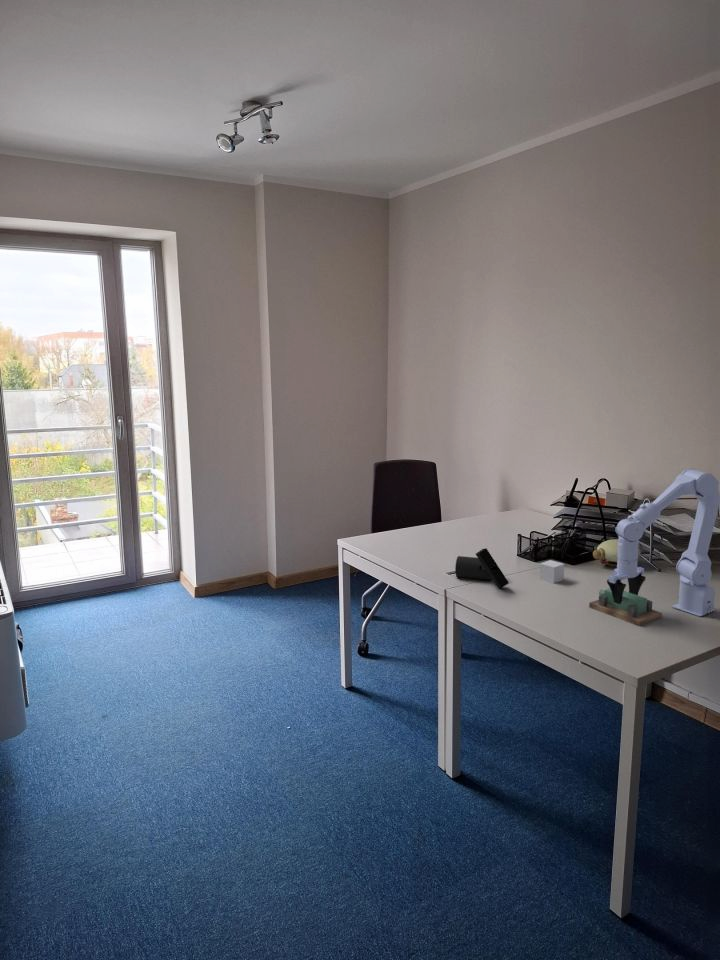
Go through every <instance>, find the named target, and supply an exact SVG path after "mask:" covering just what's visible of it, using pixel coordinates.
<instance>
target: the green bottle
mask: <svg viewBox="0 0 720 960" xmlns="http://www.w3.org/2000/svg"><path fill="white" fill-rule="evenodd" d="M600 595H604V596H607V597H608V600H607V605H610V606H613V607H615V608H618V609H621V610H624V611H626V612H627V610H628V606H629V605H633V606H636V607H637V613H636V615H640V614H642V613H645V612H646V608H647V600H648V598H646V597H644V596H642V595H641V596H640V595H639V594H638V595H635V594H632V593H629V591H626V590H624V591H623V596H622V602H621V604H618V603H615V602H614V600H613V595H612V592H611V589H610V588H607V589H600V590H599V591H598V596H600Z"/></svg>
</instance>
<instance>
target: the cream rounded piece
mask: <svg viewBox="0 0 720 960" xmlns="http://www.w3.org/2000/svg"><path fill="white" fill-rule="evenodd" d="M618 539H619V538H618ZM618 539H616V538H615V539H609V540H608V539H607V540H605V541H603V542H601V543H600V544H598V545H597V549H594V550H593V552H592V556H593V558H594V559H595V560H599V561H600V564H602V565H608V566H610V567H617V559H618ZM641 553H642V552H641V549H640V547H638V558H639V557H640V556H641V555H642V554H641ZM611 562H612V563H616V564H612V563H611Z"/></svg>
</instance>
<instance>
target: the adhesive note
mask: <svg viewBox="0 0 720 960" xmlns="http://www.w3.org/2000/svg"><path fill="white" fill-rule="evenodd" d="M539 580H542V581H545V582H548V583H550V584H556V583H558V582H560V581H563V580H565V564H564V563H562V562H560V561H559V562H558V561H555V560H552V559H549V560H546V561H543V562H540V563H539Z"/></svg>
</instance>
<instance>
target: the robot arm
mask: <svg viewBox="0 0 720 960" xmlns="http://www.w3.org/2000/svg"><path fill="white" fill-rule="evenodd" d="M719 485H720V481H719V480H718V479H717V478H716V477H715V476H714V475H713V474H712V473H709V472H704V471H700V470H697V469H696V468H686V469H684V470H683V471H682V472H681V473H680V474H678V475H677V476H676V478H675V479H674V481H673V482H672V483H671V484H670V485H669V487H667V488H666V489H665V490H664V491H663V492H662V493H661V494H660V495H658V496H657V498H655V500H654V501H652V502H646V503H641V504H640V505H639V508H638V509H637V510H635V511H634V512H633V513H632V514H631V515H630V514H629V515H628V516H627V518H624V519H621V520H620V521H619V522H618V523H617V525H616V526H615V528H614V530H615V533H616V534H617V537H618V559H617V563H616V565H617V566H616V568H614V569H613V570H614V571H613V573H612V574H610V575H609V576H608V578H607V581H606V583H607V585H608V586H609V589H611V592H612V595H613V600H614V602H615V603H618V604H621V602H622V596H623V591H625V589H626V587H627V584H626V583H623V582H622V580H623V581H624V580H626V579H627V582H628V592H629V593H632V594H635V595H638V596H639V592H640V590H641V588H642V585H643V583H644V582H645V581H646V576H644V574H645V568H644V567H641V566H638V560H639V559H638V558H639V557H638V548H639V543H640V542H639V540H640V539H642V537H643V535H644V532H645V531H646V529H647V528H649V527H650V526H652V524H654V522H655V521H657V520H658V519H659V518H660V517H661V512H662V511H663V510H664V509H665V508H667V507H668V506H669V505H671V504H673V503H674V502H675V501H676V500H677V499H680V497H682V496H688V495H689V496H690V495H692V496H694V497H696V498H695V499H697V500H698V504H697V509H696V513H695V517H694V523H693V527H692V529H691V535H690V539H689V542H688V546H687V549H686V550H684V551H683V552H682V553H681V557H680V559H679V560H678V561H677V562H676V567H675V569H676V572H677V573H678V574H679V590H678V603H676V604H673V605H672V606H671V607H672V608H673V609H676V610H679V611H683V612H686V613H688V614H692V615H695V616H698V617H702V616H705V614H706V615H707V613H708V614H711V613H713V612H715V610H716V609H714V607H715V606H714V605H715V597H716V596H715V595H716V592H715V588H714V587H712V586H710V585H708V583H709V582H710V580H711V579H712V575H713V574H712V569H711V567H712V561H711V559H710V557H709V555H708V553H709V549H710V545H711V541H712V536H713V532H714V527H715V523H716V520H717V516H718V511H719V507H720V491H719ZM712 611H713V612H712ZM710 612H711V613H710Z"/></svg>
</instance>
